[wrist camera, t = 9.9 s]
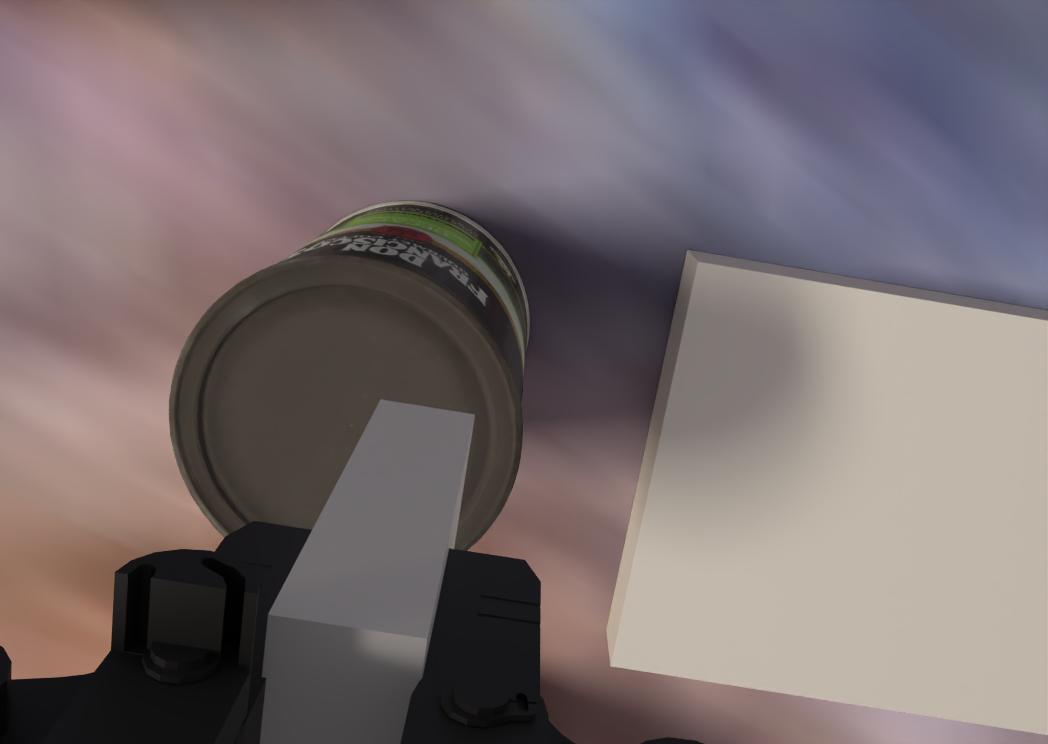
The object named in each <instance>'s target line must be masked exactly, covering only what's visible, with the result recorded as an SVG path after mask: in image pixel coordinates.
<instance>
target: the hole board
mask: <svg viewBox="0 0 1048 744" xmlns="http://www.w3.org/2000/svg"><path fill="white" fill-rule="evenodd" d="M606 631H607V640H608V649H609V658H610V666H612V667H619V668H625V669H631V670H638V671H644V672H650V673H657V674H663V675H669V676H676V677H682V678H688V679H695V680H701V681H707V682H714V683H720V684H726V685H733V686H739V687H746V688H752V689H758V690H765V691H771V692H777V693H784V694H790V695H796V696H803V697H809V698H815V699H822V700H828V701H834V702H841V703H847V704H854V705H860V706H866V707H873V708H879V709H885V710H892V711H898V712H904V713H911V714H917V715H923V716H930V717H936V718H942V719H949V720H955V721H961V722H968V723H974V724H981V725H987V726H993V727H1000V728H1006V729H1012V730H1019V731H1025V732H1031V733H1038V734H1044V735H1048V310H1042V309H1036V308H1030V307H1024V306H1018V305H1012V304H1006V303H1000V302H995V301H989V300H983V299H977V298H971V297H965V296H959V295H953V294H947V293H941V292H935V291H929V290H924V289H918V288H912V287H906V286H900V285H894V284H888V283H882V282H876V281H870V280H864V279H858V278H853V277H847V276H841V275H835V274H829V273H823V272H817V271H811V270H805V269H799V268H793V267H787V266H781V265H776V264H770V263H764V262H758V261H752V260H746V259H740V258H734V257H728V256H722V255H716V254H710V253H705V252H699V251H693V250H687V253H686V258H685V263H684V268H683V272H682V277H681V282H680V286H679V291H678V296H677V300H676V305H675V310H674V315H673V319H672V324H671V329H670V333H669V338H668V343H667V347H666V352H665V357H664V362H663V366H662V371H661V376H660V380H659V385H658V390H657V394H656V399H655V404H654V408H653V413H652V418H651V423H650V427H649V432H648V437H647V441H646V446H645V451H644V455H643V460H642V465H641V470H640V474H639V479H638V484H637V488H636V493H635V498H634V502H633V507H632V512H631V516H630V521H629V526H628V531H627V535H626V540H625V545H624V549H623V554H622V559H621V563H620V568H619V573H618V578H617V582H616V587H615V592H614V596H613V601H612V606H611V610H610V615H609V620H608V625H607V629H606Z"/></svg>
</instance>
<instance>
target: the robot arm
mask: <svg viewBox="0 0 1048 744" xmlns="http://www.w3.org/2000/svg"><path fill="white" fill-rule="evenodd" d="M474 418H475V414H469V413H463V412H456V411H450V410H444V409H438V408H431V407H425V406H419V405H413V404H406V403H400V402H394V401H388V400H380V401H379V403H378V405H377V407H376V409H375V411H374V413H373V415H372V417H371V419H370V421H369V422H368V424H367V426H366V428H365V430H364V432H363V434H362V436H361V438H360V440H359V442H358V444H357V445H356V447H355V449H354V451H353V453H352V455H351V457H350V459H349V461H348V463H347V465H346V466H345V468H344V470H343V472H342V474H341V476H340V478H339V480H338V482H337V484H336V486H335V487H334V489H333V491H332V493H331V495H330V497H329V499H328V501H327V503H326V505H325V507H324V508H323V510H322V512H321V514H320V516H319V518H318V520H317V522H316V524H315V526H314V528H313V529H312V530H310V529H304V528H298V527H291V526H285V525H278V524H272V523H265V522H259V521H253V522H251V523H249V524H247V525H245V526H244V527H242V528H240V529H238V530H236V531H234V532H232V533H230V534H228V535H227V536H225V538H224V539H223V541H222V542H221V543H220V545H219V546H218V548H217V549H216V551H215V552H213V551H205V550H189V549H179V550H171V551H163V552H155V553H152V554H149V555H146V556H143V557H140V558H137V559H134V560H131V561H130V562H128V563H127V564H126V565H124V566H123V567H122V568H120V569H119V570H117V571H116V572H115V582H114V602H113V621H112V641H111V651H110V652H109V654H108V655H107V656H106V658H105V659H104V660H103V661H102V663H101V664H100V665H99V667H98V668H97V669H96V671H95V672H93V673H89V674H85V675H76V676H68V677H57V678H36V679H16V680H11V660H10V658H9V657H8V655H7V653H6V651H5V650H4V648H3V647H1V646H0V744H575V743H573V742H572V741H570V740H569V739H568V738H566V737H565V736H563V735H562V734H561V733H560V732H559V731H558V730H557V729H556V728H555V727H554V726H553V725H552V724H551V723H550V722H549V720H548V713H547V710H546V706H545V703H544V700H543V698H542V697H541V696H540V603H541V582H540V580H539V579H538V577H537V576H536V575H535V573H534V572H533V570H532V569H531V568H530V566H529V565H528V564H527V562H526V561H525V560H521V559H515V558H509V557H502V556H496V555H489V554H483V553H476V552H470V551H464V550H457V549H454V546H455V539H456V533H457V526H458V520H459V514H460V507H461V501H462V494H463V488H464V482H465V475H466V469H467V462H468V456H469V450H470V443H471V437H472V430H473V424H474ZM641 744H703V743H700V742H697V741H694V740H686V739H678V738H670V737H668V738H661V739H655V740H648V741H645V742H643V743H641Z"/></svg>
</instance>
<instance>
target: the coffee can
mask: <svg viewBox="0 0 1048 744" xmlns="http://www.w3.org/2000/svg"><path fill="white" fill-rule="evenodd" d="M529 329H530V316H529V306H528V301H527V296H526V292H525V288H524V285H523V283H522V280H521V277H520V275H519V273H518V271H517V269H516V267H515V265H514V263H513V262H512V260H511V258H510V256H509V255H508V253H507V252H506V251H505V249H504V248H503V247H502V246H501V244H500V243H498V242H497V240H496V239H495V238H494V237H493V236H492V235H491V234H490V233H489V232H487V231H486V230H485V229H484V228H482V227H481V226H480V225H478V224H477V223H475V222H474V221H472V220H471V219H469V218H467V217H465V216H464V215H462V214H460V213H457V212H455V211H453V210H450V209H447V208H445V207H442V206H438V205H435V204H432V203H426V202H418V201H395V202H387V203H382V204H377V205H373V206H370V207H367V208H364V209H361V210H359V211H357V212H355V213H352V214H350V215H349V216H347V217H345V218H343V219H342V220H340V221H338V222H337V223H336V224H335V225H333V226H332V227H331V228H330V229H328V230H327V231H326V232H325V233H324V234H323V235H321V236H319V237H318V238H316V239H314V240H313V241H311V242H310V243H308V244H307V245H306V246H304V247H303V248H301V249H300V250H298V251H297V252H295V253H293V254H292V255H290V256H289V257H287V258H285V259H284V260H282V261H281V262H279V263H277V264H275V265H273V266H270V267H268V268H266V269H263V270H261V271H259V272H257V273H255V274H253V275H251V276H250V277H248V278H246V279H244V280H243V281H241V282H239V283H238V284H236V285H235V286H234V287H232V288H231V289H230V290H229V291H227V292H226V293H225V294H224V295H223V296H221V297H220V298H219V299H218V300H217V301H216V302H215V303H214V304H212V306H211V307H210V308H209V309H208V310H207V311H206V313H205V314H204V315H203V316H202V317H201V319H200V320H199V322H198V323H197V325H196V326H195V327H194V329H193V330H192V332H191V334H190V335H189V337H188V339H187V341H186V343H185V345H184V347H183V349H182V351H181V354H180V356H179V359H178V361H177V364H176V367H175V371H174V375H173V380H172V385H171V392H170V398H169V424H170V436H171V441H172V445H173V450H174V454H175V458H176V461H177V464H178V467H179V470H180V473H181V475H182V478H183V480H184V482H185V484H186V486H187V488H188V490H189V492H190V494H191V496H192V497H193V499H194V501H195V502H196V504H197V505H198V506H199V508H200V509H201V511H202V513H203V514H204V515H205V516H206V518H207V519H208V520H209V521H210V523H211V524H212V525H213V526H214V527H215V529H216V530H217V531H218V532H219V533H220V534H221V535H222V536H223V537H225V536H227V535H228V534H230V533H232V532H234V531H236V530H238V529H240V528H242V527H244V526H245V525H247V524H249V523H251V522H253V521H259V522H265V523H272V524H278V525H285V526H291V527H298V528H304V529H310V530H312V529H313V528H314V526H315V524H316V522H317V520H318V518H319V516H320V514H321V512H322V510H323V508H324V507H325V505H326V503H327V501H328V499H329V497H330V495H331V493H332V491H333V489H334V487H335V486H336V484H337V482H338V480H339V478H340V476H341V474H342V472H343V470H344V468H345V466H346V465H347V463H348V461H349V459H350V457H351V455H352V453H353V451H354V449H355V447H356V445H357V444H358V442H359V440H360V438H361V436H362V434H363V432H364V430H365V428H366V426H367V424H368V422H369V421H370V419H371V417H372V415H373V413H374V411H375V409H376V407H377V405H378V403H379V401H380V400H388V401H394V402H400V403H406V404H413V405H419V406H425V407H431V408H438V409H444V410H450V411H456V412H463V413H469V414H475V418H474V424H473V430H472V437H471V443H470V450H469V456H468V462H467V469H466V475H465V482H464V488H463V494H462V501H461V507H460V514H459V520H458V526H457V533H456V539H455V546H454V549H457V550H464V551H467V550H468V549H469V548H470V547H471V546H472V545H474V544H475V543H476V542H477V541H478V540H479V539H480V538H481V537H482V536H483V535H484V534H485V533H486V531H487V530H488V529H489V528H490V526H491V525H492V524H493V522H494V521H495V520H496V518H497V517H498V515H499V514H500V512H501V511H502V509H503V507H504V505H505V503H506V501H507V499H508V497H509V495H510V492H511V490H512V488H513V485H514V482H515V479H516V476H517V472H518V468H519V463H520V457H521V448H522V435H523V422H522V408H521V400H522V393H523V375H524V366H525V355H526V349H527V345H528V341H529Z"/></svg>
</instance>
